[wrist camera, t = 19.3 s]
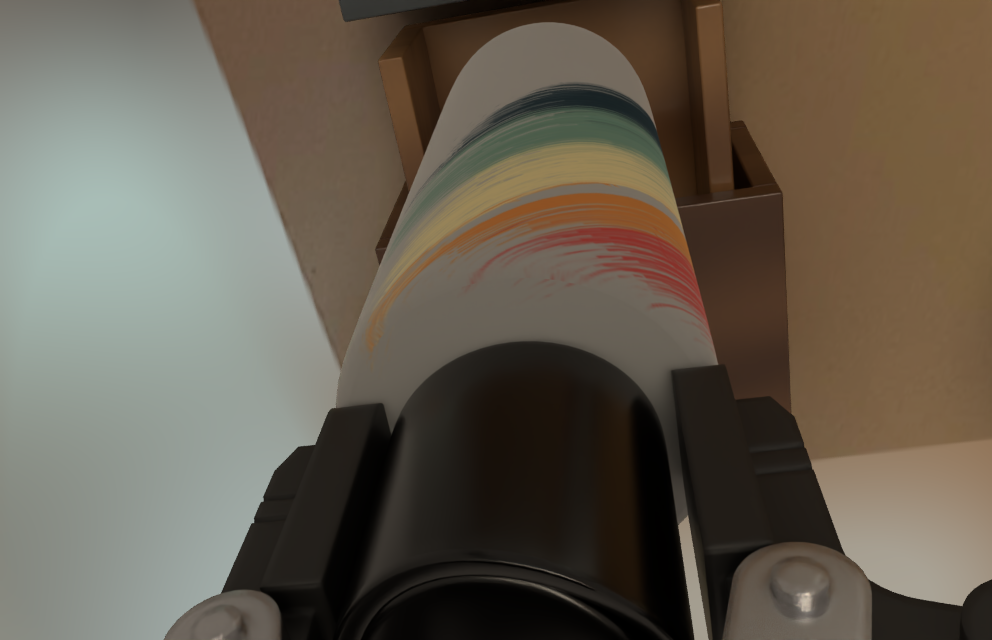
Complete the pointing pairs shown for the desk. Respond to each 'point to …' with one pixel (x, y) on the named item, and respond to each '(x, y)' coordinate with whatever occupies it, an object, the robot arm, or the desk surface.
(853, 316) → the desk surface
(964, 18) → the desk surface
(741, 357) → the cabinet
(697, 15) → the drawer
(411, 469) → the white striped bottle
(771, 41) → the desk surface
